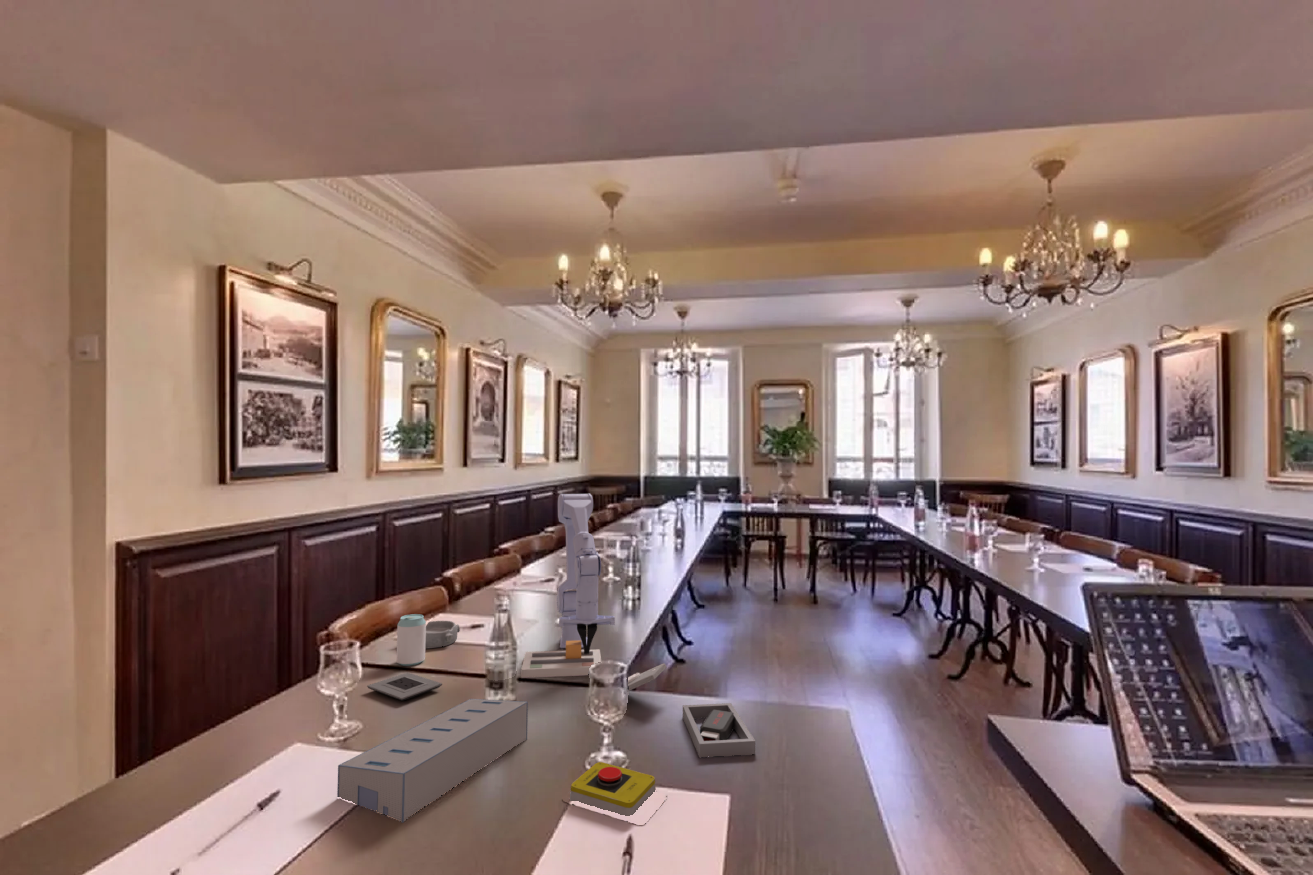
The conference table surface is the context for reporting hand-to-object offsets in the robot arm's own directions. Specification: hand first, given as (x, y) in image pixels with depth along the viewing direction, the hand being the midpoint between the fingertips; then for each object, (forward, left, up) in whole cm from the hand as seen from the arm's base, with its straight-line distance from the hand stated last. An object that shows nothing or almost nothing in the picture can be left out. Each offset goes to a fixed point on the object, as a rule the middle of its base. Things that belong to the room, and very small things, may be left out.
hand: (586, 652), depth 159 cm
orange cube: (0, -3, -1) cm, 4 cm away
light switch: (+24, +10, -4) cm, 26 cm away
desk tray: (+43, +25, -3) cm, 50 cm away
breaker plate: (0, -6, -3) cm, 7 cm away
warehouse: (+49, -26, -4) cm, 56 cm away
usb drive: (+43, +25, -3) cm, 50 cm away
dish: (-25, -44, -4) cm, 51 cm away
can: (-8, -46, -4) cm, 47 cm away
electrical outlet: (+13, -42, -4) cm, 44 cm away
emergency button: (+63, +3, -4) cm, 63 cm away
